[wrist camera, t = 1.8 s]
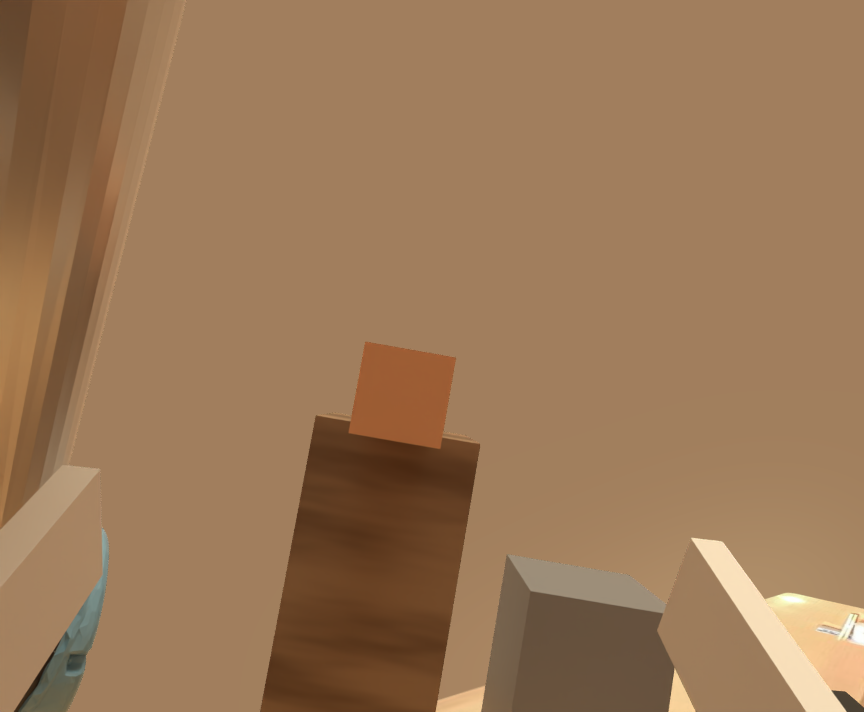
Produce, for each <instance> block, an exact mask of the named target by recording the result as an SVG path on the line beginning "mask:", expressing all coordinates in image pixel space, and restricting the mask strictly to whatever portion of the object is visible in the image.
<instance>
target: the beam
mask: <svg viewBox="0 0 864 712" xmlns="http://www.w3.org/2000/svg"><path fill="white" fill-rule="evenodd" d="M455 361H456V358H455V357H449V356H443V355H437V354H432V353H427V352H421V351H416V350H410V349H404V348H398V347H393V346H387V345H381V344H376V343H370V342H365V346H364V351H363V357H362V362H361V368H360V373H359V379H358V384H357V389H356V395H355V400H354V406H353V411H352V417H351V422H350V427H349V433H351V434H357V435H362V436H368V437H374V438H380V439H385V440H391V441H397V442H403V443H408V444H414V445H420V446H426V447H431V448H437V449H440V448H441V442H442V436H443V431H444V425H445V419H446V413H447V407H448V402H449V396H450V390H451V384H452V378H453V372H454V366H455Z"/></svg>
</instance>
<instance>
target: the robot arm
mask: <svg viewBox="0 0 864 712" xmlns="http://www.w3.org/2000/svg"><path fill="white" fill-rule="evenodd" d="M185 4H186V0H0V712H67V711H68V709H69V707H70V705H71V703H72V701H73V699H74V697H75V695H76V692H77V690H78V688H79V685H80V682H81V680H82V677H83V674H84V670H85V663H86V655H87V653H88V651H89V650H90V649H91V647H92V644H93V641H94V638H95V635H96V632H97V628H98V624H99V619H100V616H101V611H102V605H103V601H104V595H105V590H106V582H107V574H108V560H109V545H108V538H107V535H106V533H105V531H104V529H103V528H102V523H101V522H102V521H101V520H102V519H101V473H100V469H94V468H86V467H77V466H69V463H70V459H71V456H72V451H73V447H74V443H75V440H76V435H77V431H78V428H79V423H80V420H81V416H82V412H83V408H84V404H85V400H86V396H87V392H88V388H89V384H90V380H91V376H92V372H93V368H94V364H95V360H96V356H97V352H98V349H99V345H100V341H101V337H102V333H103V329H104V325H105V321H106V317H107V313H108V309H109V305H110V301H111V297H112V293H113V289H114V285H115V281H116V277H117V273H118V269H119V265H120V261H121V257H122V253H123V249H124V246H125V242H126V237H127V233H128V230H129V225H130V222H131V218H132V214H133V210H134V206H135V202H136V198H137V194H138V190H139V186H140V182H141V178H142V174H143V170H144V166H145V162H146V158H147V154H148V150H149V146H150V143H151V138H152V134H153V131H154V127H155V123H156V118H157V115H158V111H159V107H160V103H161V98H162V95H163V91H164V87H165V83H166V79H167V75H168V71H169V67H170V63H171V59H172V55H173V51H174V47H175V43H176V40H177V35H178V32H179V28H180V24H181V20H182V16H183V11H184V8H185ZM657 632H658V634H659V636H660V638H661V640H662V642H663V644H664V646H665V648H666V651H667V653H668V655H669V657H670V659H671V661H672V663H673V665H674V667H675V669H676V671H677V673H678V676H679V678H680V680H681V682H682V684H683V686H684V688H685V690H686V692H687V694H688V696H689V698H690V700H691V703H692V705H693V707H694V709H695V711H696V712H864V707H863V706H861V705H860V704H859V703H858V702H857V701H856V700H855V699H853V698H852V697H851V696H850V695H849V694H848V693H847V692H843V691H833V690H830V688H829V687H828V686H827V684H826V683H825V681H824V680H823V679H822V677H821V676H820V675H819V673H818V672H817V670H816V669H815V668H814V666H813V665H812V664H811V662H810V661H809V660H808V658H807V657H806V655H805V654H804V653H803V651H802V650H801V649H800V647H799V646H798V644H797V643H796V642H795V640H794V639H793V638H792V636H791V635H790V634H789V632H788V631H787V629H786V628H785V627H784V625H783V624H782V623H781V621H780V620H779V618H778V617H777V616H776V614H775V613H774V612H773V610H772V609H771V607H770V606H769V605H768V603H767V602H766V601H765V599H764V598H763V597H762V595H761V594H760V593H759V591H758V590H757V589H756V587H755V586H754V584H753V583H752V581H751V580H750V579H749V577H748V576H747V575H746V573H745V572H744V571H743V569H742V568H741V566H740V565H739V564H738V562H737V561H736V560H735V559H734V557H733V556H732V554H731V553H730V551H729V550H728V549H727V547H726V546H725V545H724V543H723V542H722V541H713V540H705V539H696V538H691V539H690V541H689V544H688V547H687V550H686V552H685V555H684V558H683V561H682V564H681V566H680V569H679V572H678V574H677V577H676V580H675V583H674V585H673V588H672V591H671V594H670V596H669V599H668V602H667V605H666V607H665V610H664V613H663V616H662V618H661V621H660V624H659V627H658V629H657Z"/></svg>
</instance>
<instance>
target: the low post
mask: <svg viewBox="0 0 864 712" xmlns="http://www.w3.org/2000/svg"><path fill="white" fill-rule="evenodd" d="M666 605H667V604H665V603H664V602H663V601H661V600H660V599H659V598H658V597H656V596H655V595H654V594H653V593H651V592H650V591H649V590H647V589H646V588H645V587H644V586H642V585H641V584H640V583H638V582H637V581H636V580H635V579H633V578H632V577H631V576H630V575H626V574H620V573H614V572H608V571H602V570H596V569H590V568H584V567H578V566H573V565H567V564H561V563H555V562H549V561H543V560H537V559H532V558H525V557H520V556H514V555H507V558H506V564H505V570H504V576H503V583H502V588H501V594H500V600H499V607H498V613H497V619H496V625H495V631H494V637H493V643H492V650H491V656H490V662H489V668H488V674H487V680H486V686H485V693H484V699H483V705H482V711H481V712H668V711H669V704H670V696H671V689H672V682H673V675H674V668H675V667H674V665H673V663H672V661H671V659H670V657H669V655H668V653H667V651H666V648H665V646H664V644H663V642H662V640H661V638H660V636H659V634H658V632H657V629H658V627H659V624H660V621H661V618H662V616H663V613H664V610H665V607H666Z"/></svg>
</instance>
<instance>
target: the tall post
mask: <svg viewBox="0 0 864 712" xmlns="http://www.w3.org/2000/svg"><path fill="white" fill-rule="evenodd" d="M351 417H352V415H346V414H339V413H329V414H322V415H316V418H315V423H314V428H313V434H312V439H311V444H310V449H309V455H308V461H307V465H306V471H305V476H304V482H303V487H302V492H301V497H300V503H299V508H298V513H297V519H296V524H295V529H294V535H293V540H292V545H291V551H290V556H289V562H288V567H287V572H286V577H285V583H284V588H283V593H282V599H281V604H280V609H279V615H278V620H277V625H276V631H275V636H274V641H273V646H272V652H271V657H270V662H269V668H268V673H267V679H266V684H265V689H264V694H263V700H262V705H261V710H260V712H435V711H436V705H437V700H438V694H439V687H440V682H441V675H442V670H443V664H444V658H445V651H446V646H447V640H448V634H449V627H450V622H451V616H452V610H453V604H454V598H455V592H456V586H457V579H458V574H459V568H460V562H461V556H462V551H463V545H464V539H465V533H466V527H467V521H468V515H469V509H470V503H471V497H472V491H473V485H474V479H475V473H476V467H477V461H478V455H479V449H480V444H479V443H478V442H476V441H474V440H472V439H471V438H469V437H467V436H466V435H460V434H454V433H449V432H443V436H442V442H441V448H440V449H437V448H431V447H426V446H420V445H414V444H408V443H403V442H397V441H391V440H385V439H380V438H374V437H368V436H362V435H357V434H351V433H349V427H350V422H351Z"/></svg>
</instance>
